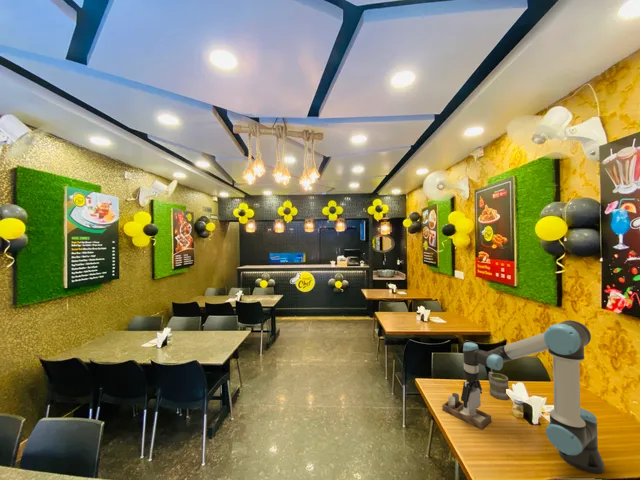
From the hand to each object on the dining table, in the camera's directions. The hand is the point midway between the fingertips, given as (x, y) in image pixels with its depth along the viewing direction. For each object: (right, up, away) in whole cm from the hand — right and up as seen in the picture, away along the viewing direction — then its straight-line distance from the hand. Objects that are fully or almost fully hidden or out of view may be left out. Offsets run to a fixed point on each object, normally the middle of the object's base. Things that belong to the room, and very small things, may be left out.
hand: (472, 408), depth 155 cm
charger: (0, -5, 0) cm, 5 cm away
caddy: (-2, -6, +3) cm, 7 cm away
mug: (+31, -6, +26) cm, 40 cm away
